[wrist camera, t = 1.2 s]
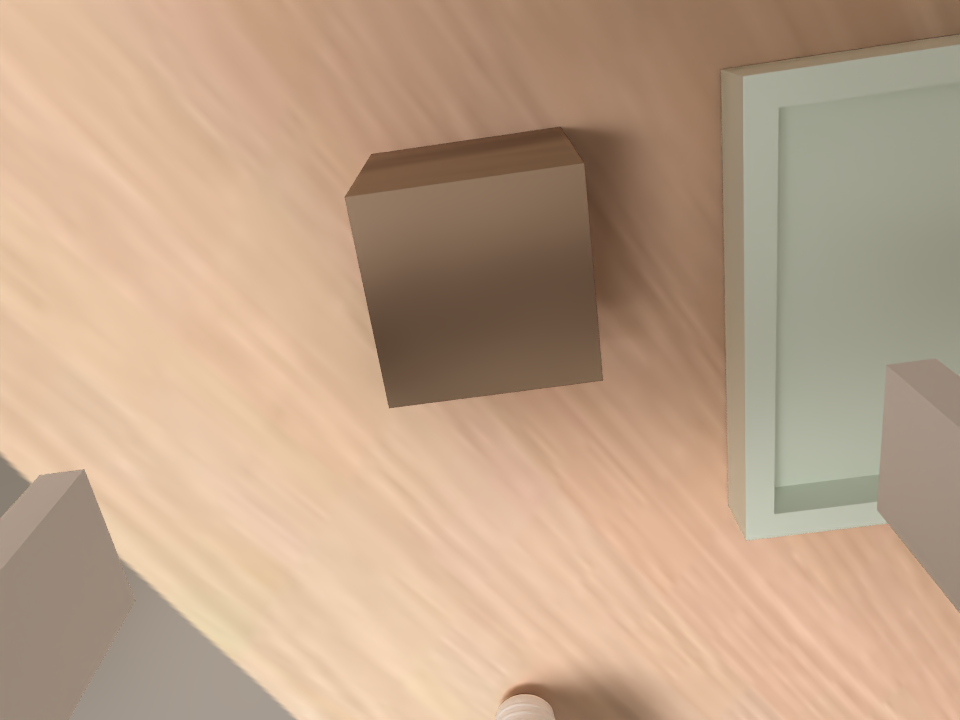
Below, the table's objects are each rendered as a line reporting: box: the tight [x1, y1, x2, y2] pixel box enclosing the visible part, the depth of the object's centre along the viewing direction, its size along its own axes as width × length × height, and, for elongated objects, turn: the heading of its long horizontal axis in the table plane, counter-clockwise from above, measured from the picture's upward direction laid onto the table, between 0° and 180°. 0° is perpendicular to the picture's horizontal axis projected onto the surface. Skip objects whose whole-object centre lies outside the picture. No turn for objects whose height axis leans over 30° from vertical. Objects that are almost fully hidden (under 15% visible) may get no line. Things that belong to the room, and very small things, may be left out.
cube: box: [345, 127, 603, 408], centre depth 24 cm, size 6×6×6 cm
